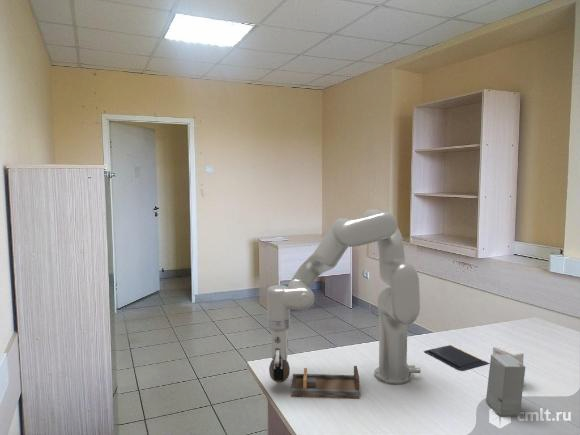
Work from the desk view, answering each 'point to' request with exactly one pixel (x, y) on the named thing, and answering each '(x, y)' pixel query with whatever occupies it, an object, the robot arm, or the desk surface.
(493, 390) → the skincare box
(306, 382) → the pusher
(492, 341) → the desk surface
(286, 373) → the vase
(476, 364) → the wallet
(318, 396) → the tray
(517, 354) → the ink box
